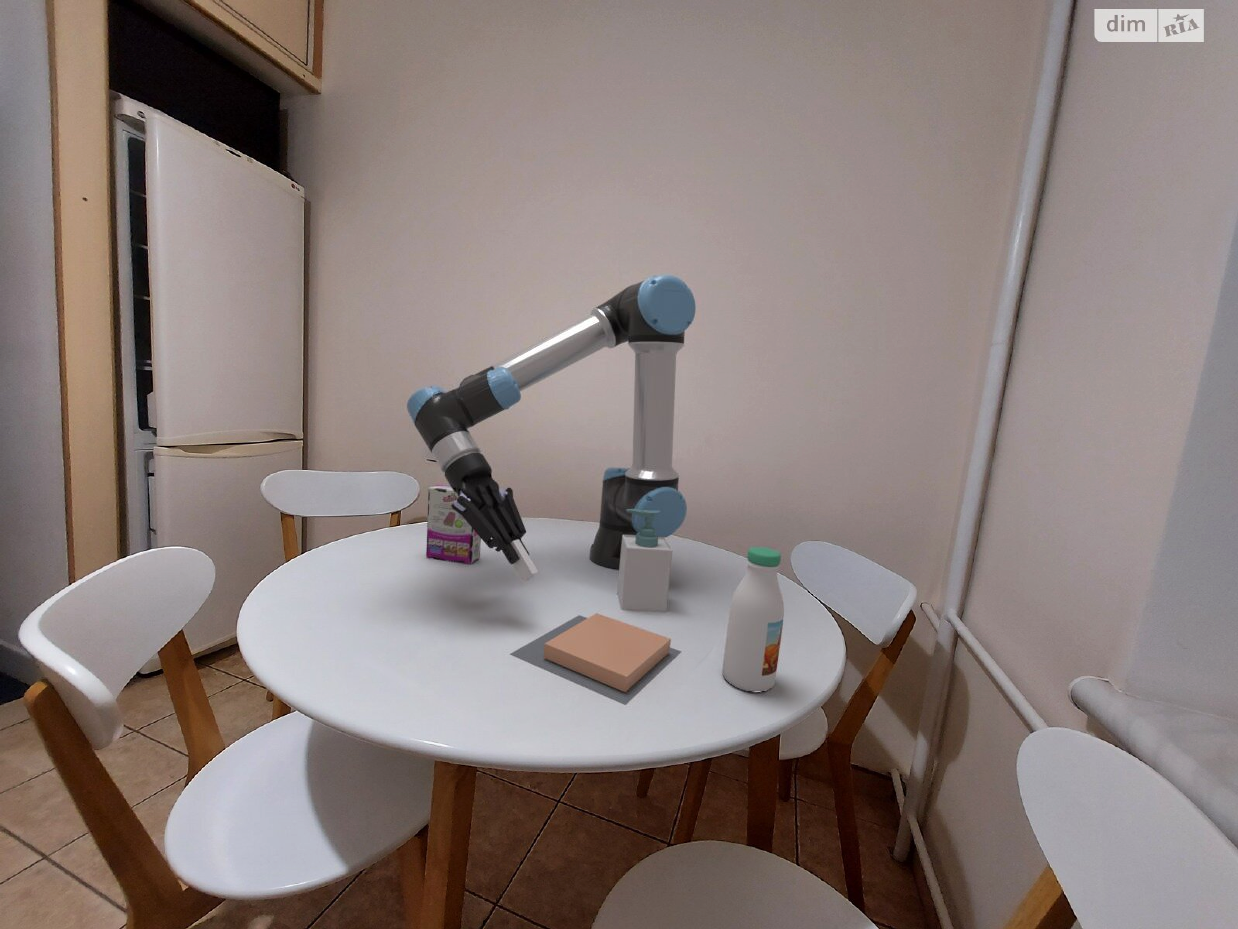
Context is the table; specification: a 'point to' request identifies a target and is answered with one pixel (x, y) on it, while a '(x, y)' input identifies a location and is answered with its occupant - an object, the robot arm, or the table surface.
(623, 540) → the soap bottle
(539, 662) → the mat
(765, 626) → the milk bottle
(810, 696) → the table surface
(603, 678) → the tile
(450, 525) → the candy bar box
